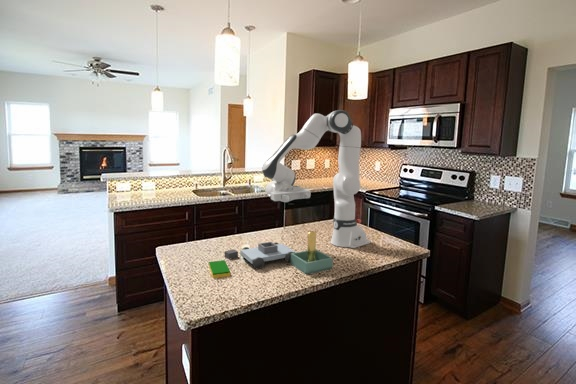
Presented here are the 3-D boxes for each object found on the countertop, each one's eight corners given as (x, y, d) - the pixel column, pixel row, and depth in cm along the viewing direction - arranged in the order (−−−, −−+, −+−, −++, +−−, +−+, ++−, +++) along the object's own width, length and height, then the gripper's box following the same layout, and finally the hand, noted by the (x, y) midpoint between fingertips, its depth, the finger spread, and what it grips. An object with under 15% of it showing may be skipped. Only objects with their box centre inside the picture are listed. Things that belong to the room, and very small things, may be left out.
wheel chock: (233, 255, 159) (233, 249, 159) (237, 257, 156) (237, 251, 156) (224, 257, 156) (224, 251, 156) (228, 259, 153) (228, 253, 153)
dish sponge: (224, 265, 147) (224, 259, 147) (230, 276, 135) (230, 271, 134) (208, 266, 145) (208, 261, 145) (212, 279, 132) (212, 273, 132)
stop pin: (312, 262, 148) (313, 230, 145) (316, 264, 145) (317, 232, 142) (305, 263, 146) (306, 231, 144) (310, 266, 143) (310, 233, 140)
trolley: (280, 251, 165) (280, 236, 164) (296, 261, 151) (296, 246, 150) (239, 258, 155) (239, 243, 154) (252, 270, 140) (252, 253, 139)
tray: (315, 259, 155) (315, 248, 154) (332, 268, 143) (332, 258, 142) (290, 263, 148) (290, 253, 147) (306, 274, 136) (306, 263, 136)
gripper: (265, 188, 158) (278, 192, 146) (301, 185, 168) (316, 189, 156) (266, 201, 159) (278, 206, 147) (301, 197, 169) (316, 202, 157)
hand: (298, 197), depth 151 cm, fingers open, 8 cm apart
